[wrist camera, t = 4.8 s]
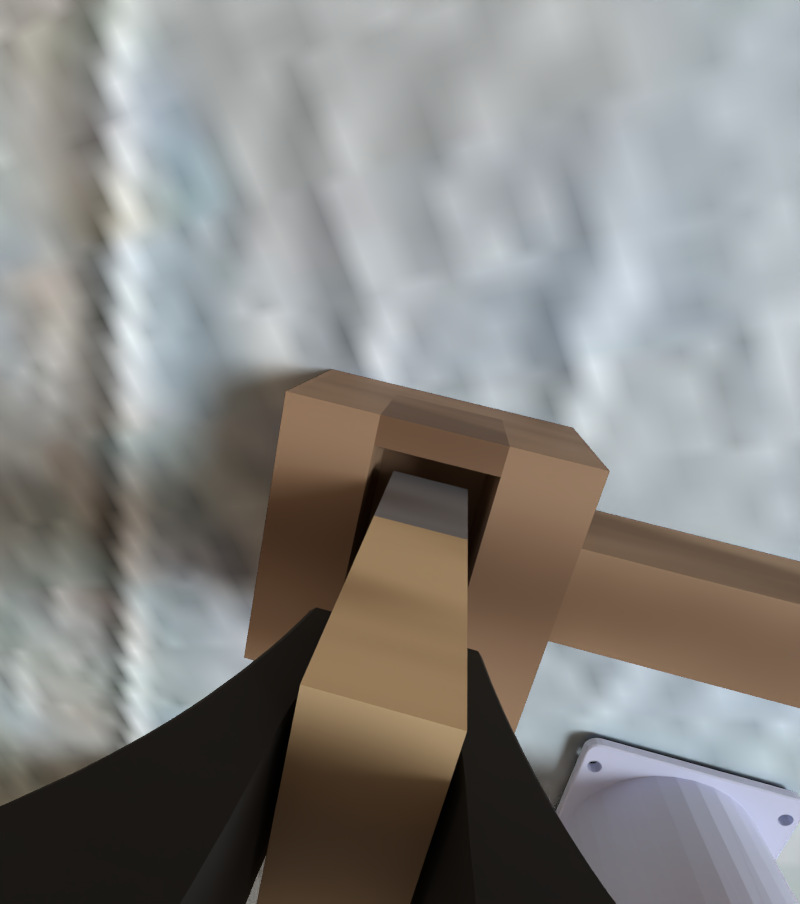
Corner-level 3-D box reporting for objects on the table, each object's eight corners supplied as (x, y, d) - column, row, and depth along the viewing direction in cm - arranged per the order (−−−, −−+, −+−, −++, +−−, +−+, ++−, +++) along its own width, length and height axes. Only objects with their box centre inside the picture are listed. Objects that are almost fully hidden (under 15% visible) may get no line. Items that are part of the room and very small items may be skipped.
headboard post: (1139, 805, 18) (1355, 967, 13) (293, 579, 19) (244, 657, 15) (1310, 606, 15) (1640, 725, 11) (331, 369, 17) (285, 391, 13)
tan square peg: (424, 646, 15) (378, 999, 7) (357, 627, 15) (246, 957, 8) (467, 489, 14) (467, 731, 6) (393, 470, 14) (299, 683, 6)
